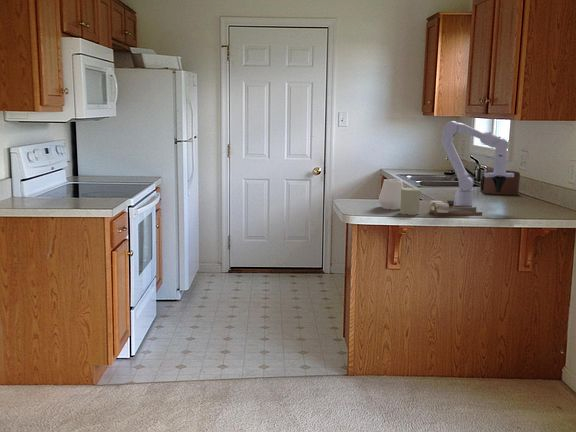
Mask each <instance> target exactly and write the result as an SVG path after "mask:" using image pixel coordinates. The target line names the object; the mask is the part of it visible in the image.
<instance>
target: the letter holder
mask: <svg viewBox="0 0 576 432" xmlns="http://www.w3.org/2000/svg"><path fill="white" fill-rule="evenodd" d="M493 171H494V169H493V170H492V169H491V170H486V171H484V173H483V174H484V175H482V178H481V180H480V188H479V189H480V190H479V191H480V192H481V194H483V195H485V194H486V195H508V196H518V195H519V189H520V179H521V173H520V172H519V171H515V170H509V169H508V170H507V169H506V173H514V177H505V178H506V181H505V182H504V184H503V186H502V188H501V191H500V192H496V189H495V185H494V182H493V180H492V177H484V176H485V173H493ZM497 176H500V175H497Z"/></svg>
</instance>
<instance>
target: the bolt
mask: <svg viewBox="0 0 576 432" xmlns="http://www.w3.org/2000/svg"><path fill="white" fill-rule="evenodd" d="M446 203H447V204H449V207H455V206H454V205H455V200H452V199H447V201H446ZM432 210H434V211H436V206H435V205H432Z"/></svg>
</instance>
